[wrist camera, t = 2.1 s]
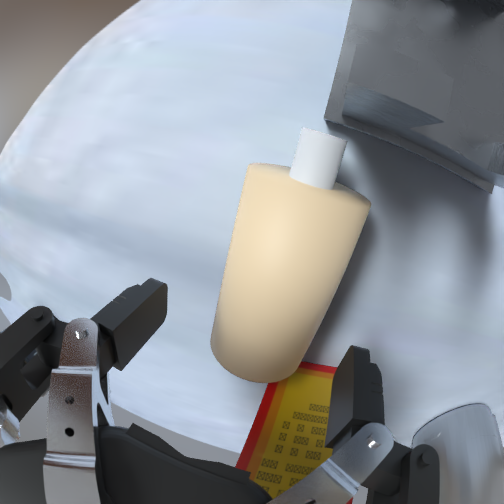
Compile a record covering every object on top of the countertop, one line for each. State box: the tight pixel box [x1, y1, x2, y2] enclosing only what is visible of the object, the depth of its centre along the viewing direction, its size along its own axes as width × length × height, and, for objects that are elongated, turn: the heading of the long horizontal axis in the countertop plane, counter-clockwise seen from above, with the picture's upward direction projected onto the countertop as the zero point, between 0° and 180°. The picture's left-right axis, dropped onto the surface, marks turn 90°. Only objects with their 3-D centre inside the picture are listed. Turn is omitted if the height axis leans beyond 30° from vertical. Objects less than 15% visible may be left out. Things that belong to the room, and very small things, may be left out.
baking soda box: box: [235, 361, 353, 504], centre depth 13 cm, size 10×6×16 cm
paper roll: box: [210, 127, 371, 383], centre depth 14 cm, size 14×6×6 cm, turn 167°
